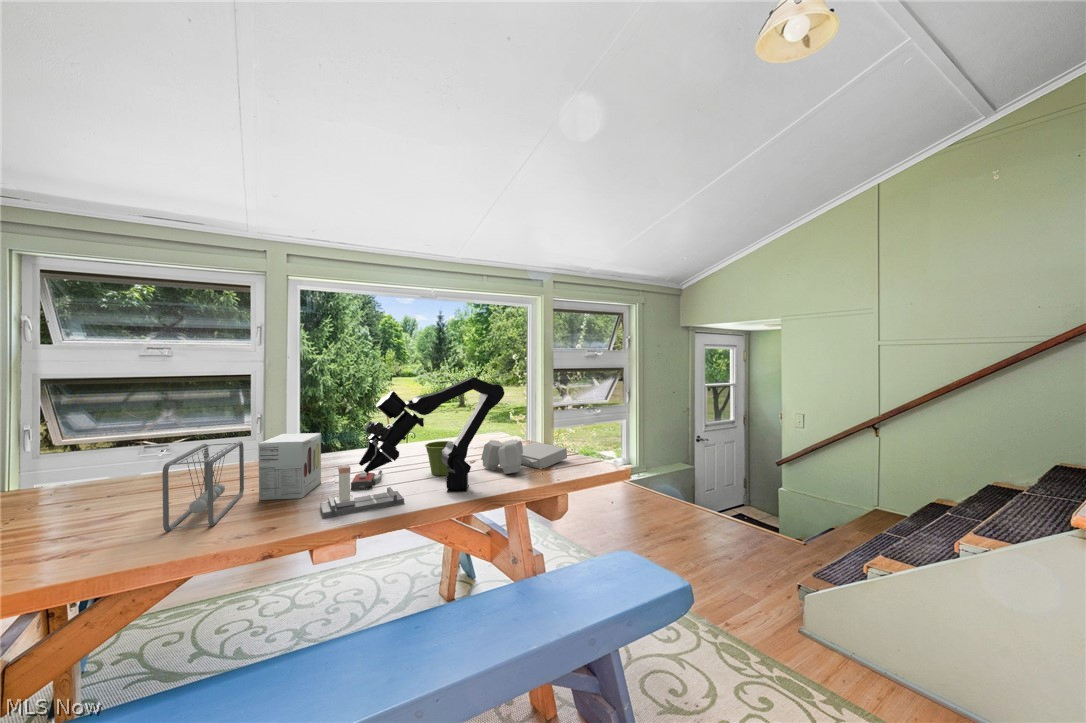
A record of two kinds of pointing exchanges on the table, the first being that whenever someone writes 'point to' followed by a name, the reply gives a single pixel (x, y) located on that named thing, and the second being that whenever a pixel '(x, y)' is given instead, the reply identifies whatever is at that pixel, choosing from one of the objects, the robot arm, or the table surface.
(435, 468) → the plant pot
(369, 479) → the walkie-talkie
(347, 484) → the lever
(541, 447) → the game console
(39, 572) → the table surface
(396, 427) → the robot arm
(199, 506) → the newton's cradle
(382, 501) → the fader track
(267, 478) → the supplement box
